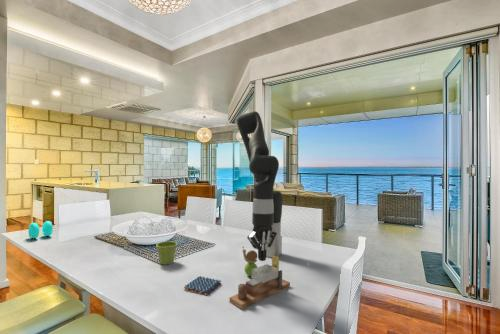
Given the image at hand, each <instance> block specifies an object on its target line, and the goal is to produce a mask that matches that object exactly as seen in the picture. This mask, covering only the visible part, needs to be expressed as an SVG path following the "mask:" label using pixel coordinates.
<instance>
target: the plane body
mask: <svg viewBox="0 0 500 334" xmlns="http://www.w3.org/2000/svg"><path fill="white" fill-rule="evenodd" d="M237 287H238V288H237V289H238V290H237V292H238V293H237V294H234V295H232V296H230V297H229V300H228V301H229V303H230V304H232V305H233V306H235V307H236V308H237V309H240V310H243V309H246V308H247V307H249V306H253V305H254V304H257V303H258V302H260V301H263V300H265V299H267V298H269V297H271V296H273V295H275V294H277V293H280V292H282V291H284V290H286V289H288V288H290V287H291V283H290V281H288V280H285V279H283V270H282V269H279V274H278V277H277V278H274V279H272V280H269V281H267V282H265V283H261V282H259V281H257V280H254V279H252V278H251V279H250V280H247V281H245V283H240V284H238V286H237Z"/></svg>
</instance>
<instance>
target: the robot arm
mask: <svg viewBox="0 0 500 334" xmlns="http://www.w3.org/2000/svg"><path fill="white" fill-rule="evenodd" d="M235 121H236V126H237V128H238V129H237V130H238V132H239V134H240V136H241V140H242V142H243V145H244V146H245V150H246V153H247V154H246V155H247V158H248V161H249V164H248V165H249V166H248V169H249V171H250V172H251V174H252V175H253V177H254V181H255V183H254V184H253V202H252V213H251V214H252V219H251V221H252V222H251V223H252V225H253V228H252V233H251V234H250V235H248V236H247V240H248V241H249V243H250V244H251V247H252V248H253V249H255V250H257V259H258V261H261V262H265V261H266V260H267V258H272V255H277V256H279V257H281V256H282V254H283V253H282V249H283V248H282V245H283V244H282V243H283V236H282V235H281V231H282V230H281V229H282V228H281V227H282V213H283V200H284V199H283V194H282V192H281V191H278V190H274V188H275V187H274V186H275V181H276V177H277V174H278V171H279V167H280V163H279V159H278V158H277V157H276V156H275V155H270V150H269V147H268V144H267V142H266V138H265V137H266V136H265V131H264V126H263V124H264V123H263V121H262V117H261V115H260V113H259V112H258V111H249V112H247V113H244V114H240V115H237V117H236V120H235ZM250 134H252V135H251V137H250V136H249V135H250Z"/></svg>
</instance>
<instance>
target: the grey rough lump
mask: <svg viewBox="0 0 500 334" xmlns="http://www.w3.org/2000/svg"><path fill="white" fill-rule="evenodd" d="M250 277H251V280H252V279H254V280H257V281H259V282H261V283H265V282H267V281H269V280H272V279H274V278H277V277H278V268H276V267H273V266H272V264H268V263H266V264H264V265H260V266H257V268H255V269H252V275H251V276H250Z"/></svg>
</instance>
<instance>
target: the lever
mask: <svg viewBox="0 0 500 334" xmlns="http://www.w3.org/2000/svg"><path fill="white" fill-rule="evenodd" d="M279 261H280V256H277V255H272V257H271V266H273V267H276V268H278V274H279V271H280V269H279V268H280V266H279V265H280V262H279Z"/></svg>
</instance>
